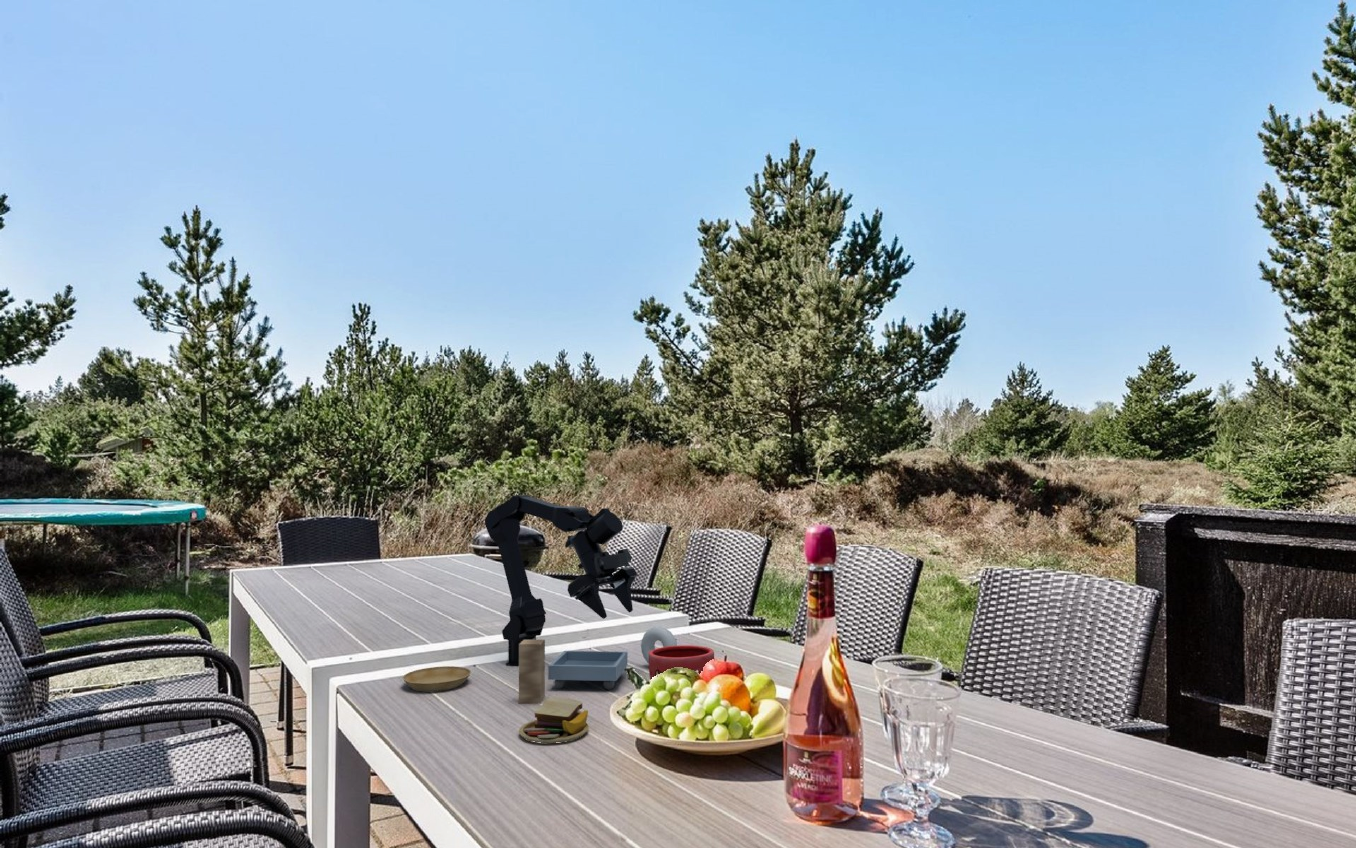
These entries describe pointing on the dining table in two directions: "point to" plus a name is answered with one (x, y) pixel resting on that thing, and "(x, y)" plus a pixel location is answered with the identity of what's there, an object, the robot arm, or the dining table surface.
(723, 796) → the dining table surface
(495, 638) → the dining table surface
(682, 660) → the plant pot
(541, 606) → the robot arm
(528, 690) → the block
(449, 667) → the plant saucer
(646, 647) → the donut
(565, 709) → the toy sandwich meal
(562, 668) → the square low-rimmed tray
